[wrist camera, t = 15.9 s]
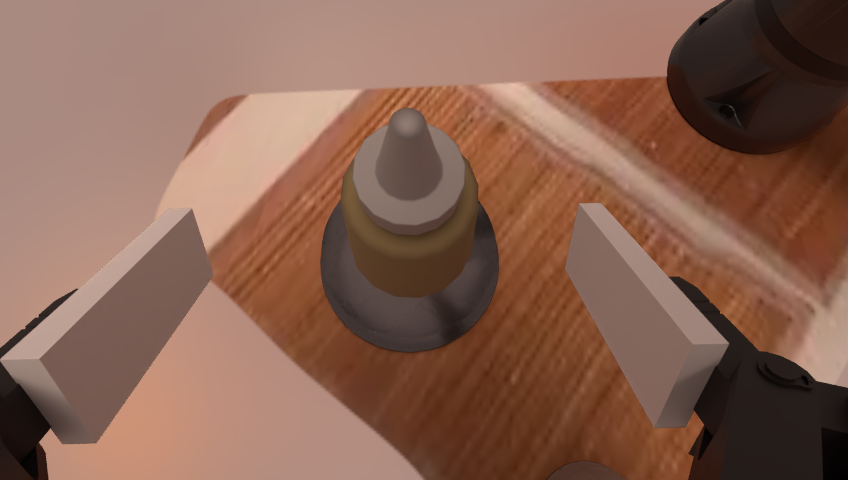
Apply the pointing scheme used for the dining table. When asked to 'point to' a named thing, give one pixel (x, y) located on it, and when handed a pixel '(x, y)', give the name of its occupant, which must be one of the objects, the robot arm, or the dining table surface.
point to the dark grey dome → (402, 316)
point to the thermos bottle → (585, 472)
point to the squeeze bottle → (410, 207)
